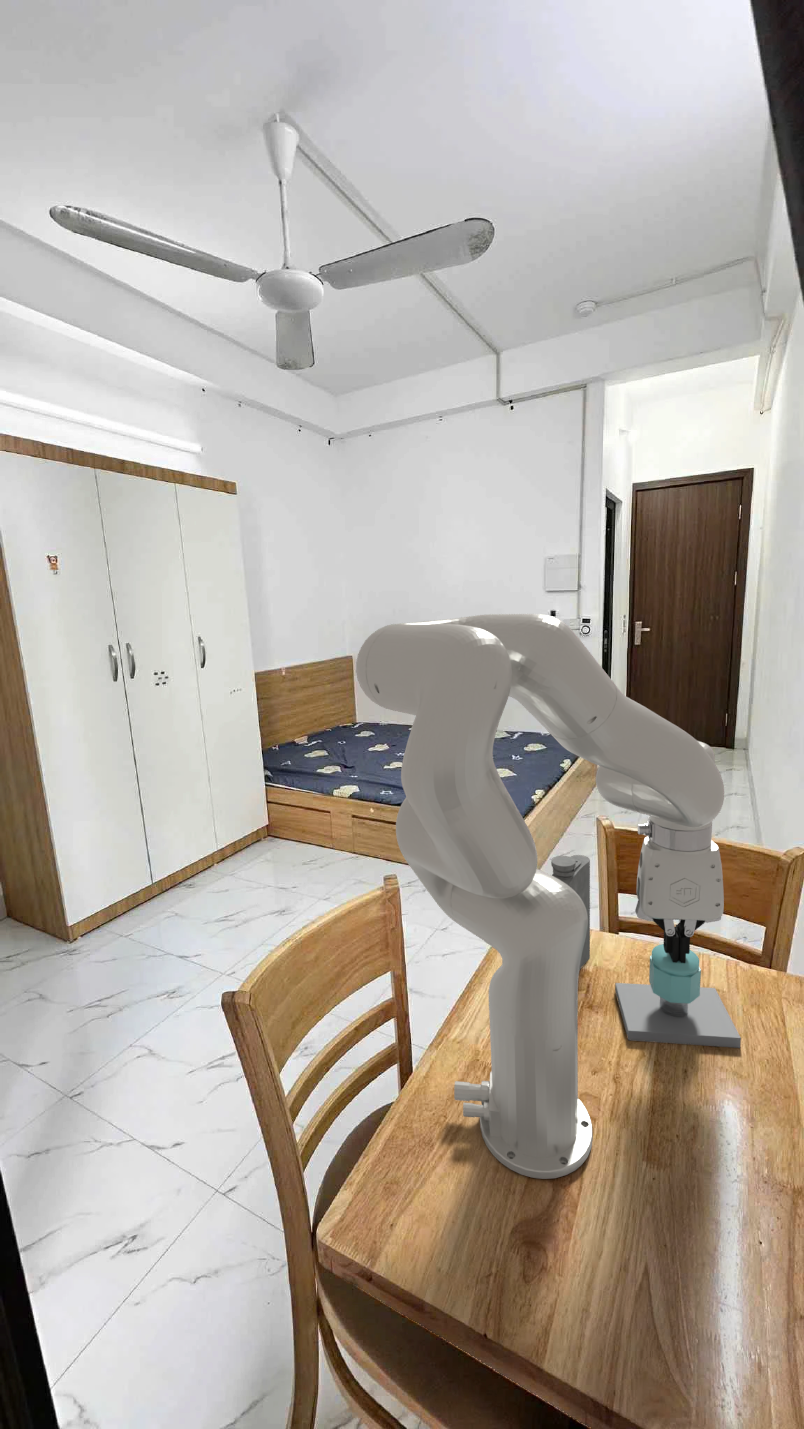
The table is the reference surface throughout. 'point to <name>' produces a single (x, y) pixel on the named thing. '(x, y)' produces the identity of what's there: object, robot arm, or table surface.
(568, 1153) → the robot arm
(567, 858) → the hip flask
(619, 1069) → the table surface
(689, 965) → the cap
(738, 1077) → the table surface
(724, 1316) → the table surface
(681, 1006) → the steel stud
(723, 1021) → the stud base
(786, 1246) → the table surface
